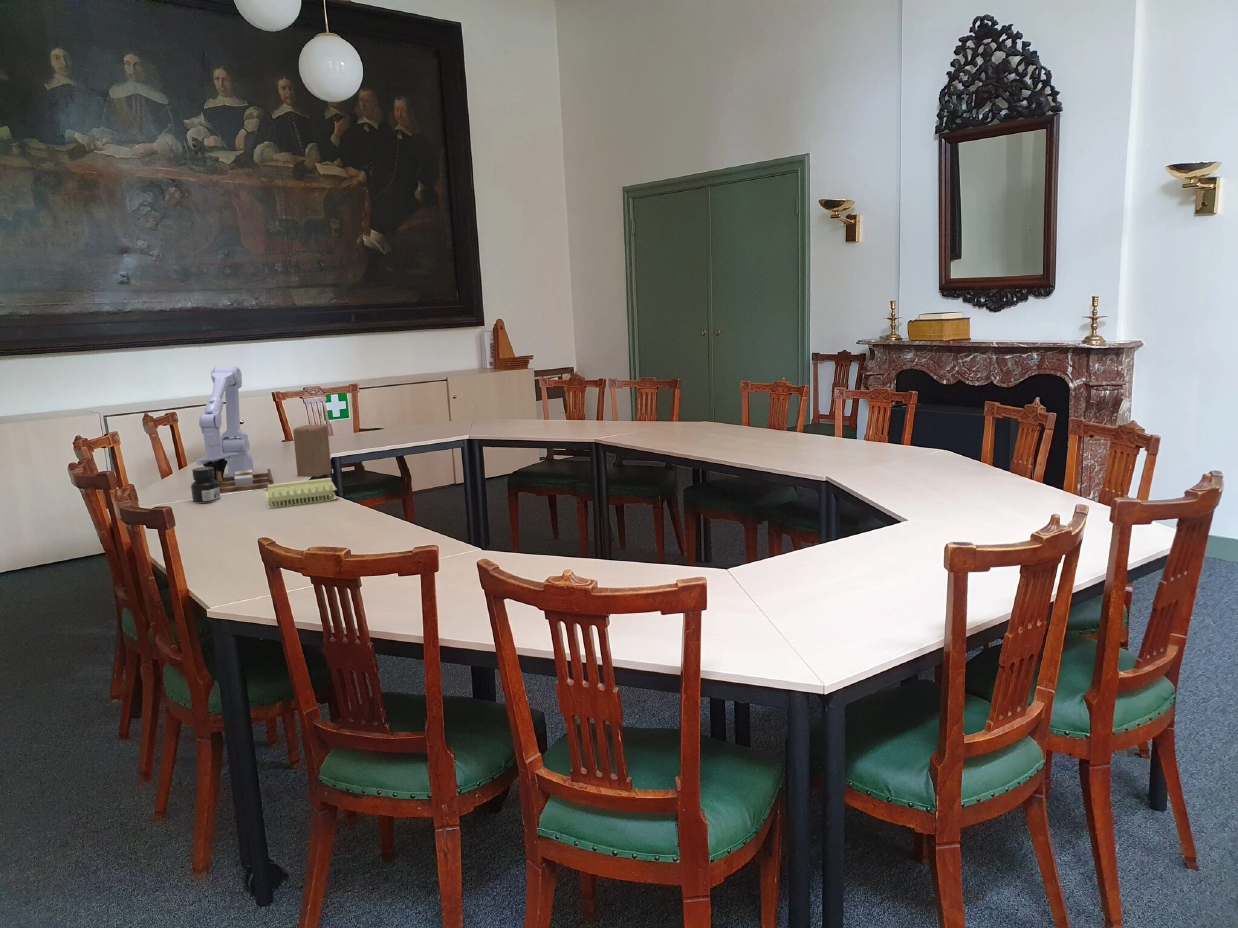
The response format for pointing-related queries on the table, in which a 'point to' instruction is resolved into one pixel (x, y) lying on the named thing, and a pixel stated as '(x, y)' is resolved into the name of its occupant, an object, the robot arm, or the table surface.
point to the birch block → (238, 473)
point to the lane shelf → (258, 483)
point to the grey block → (243, 480)
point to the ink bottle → (204, 485)
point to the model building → (300, 492)
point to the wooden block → (312, 450)
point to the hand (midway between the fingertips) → (217, 479)
